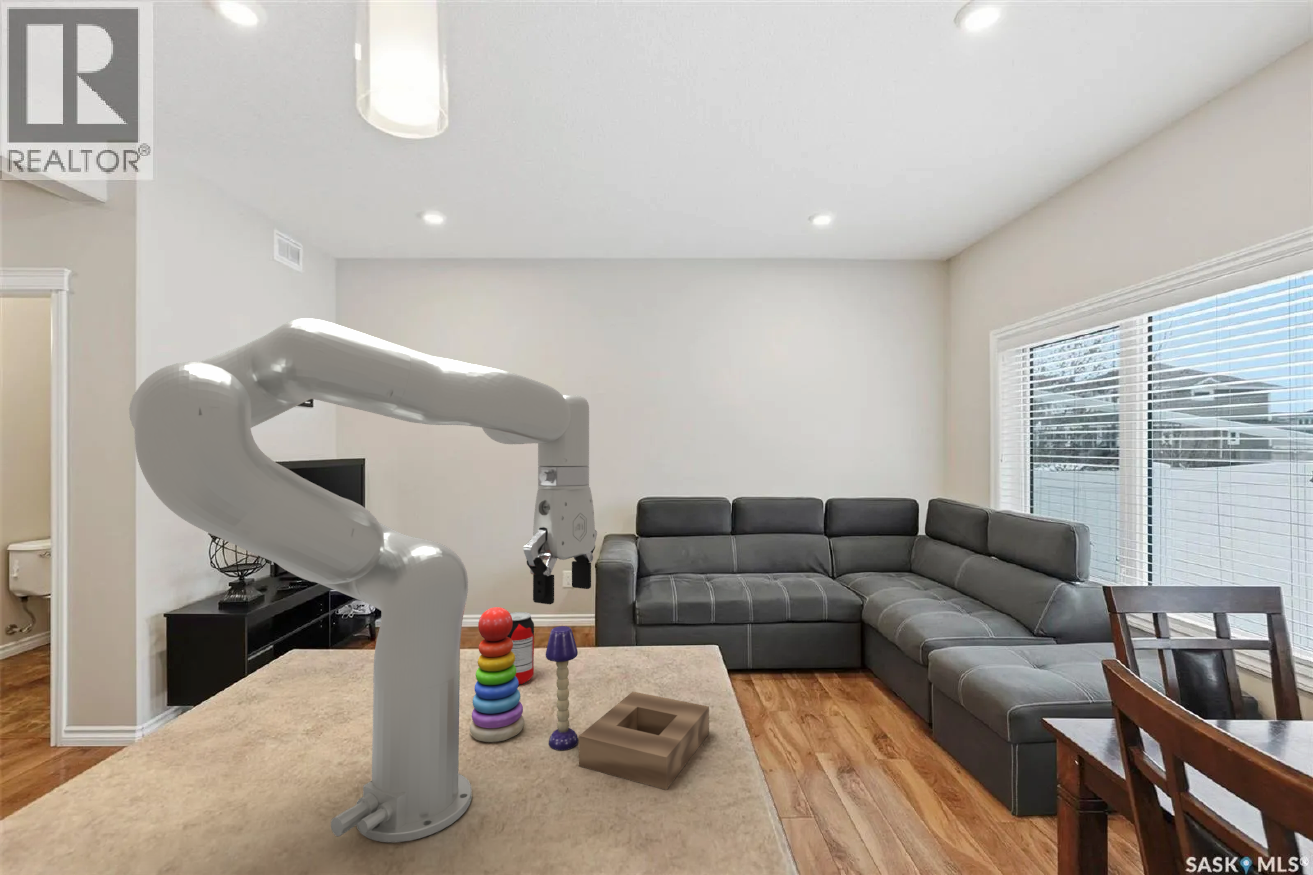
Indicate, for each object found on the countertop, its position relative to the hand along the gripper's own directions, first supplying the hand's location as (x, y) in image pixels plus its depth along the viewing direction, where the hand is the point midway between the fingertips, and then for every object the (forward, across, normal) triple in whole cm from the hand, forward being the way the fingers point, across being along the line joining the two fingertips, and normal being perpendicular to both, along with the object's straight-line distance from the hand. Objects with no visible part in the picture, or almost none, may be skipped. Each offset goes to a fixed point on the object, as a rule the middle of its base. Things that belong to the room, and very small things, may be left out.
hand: (563, 595), depth 83 cm
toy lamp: (+22, 0, 0) cm, 22 cm away
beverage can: (+22, +16, +21) cm, 34 cm away
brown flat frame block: (+22, +4, -12) cm, 25 cm away
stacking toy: (+22, -1, +11) cm, 24 cm away
